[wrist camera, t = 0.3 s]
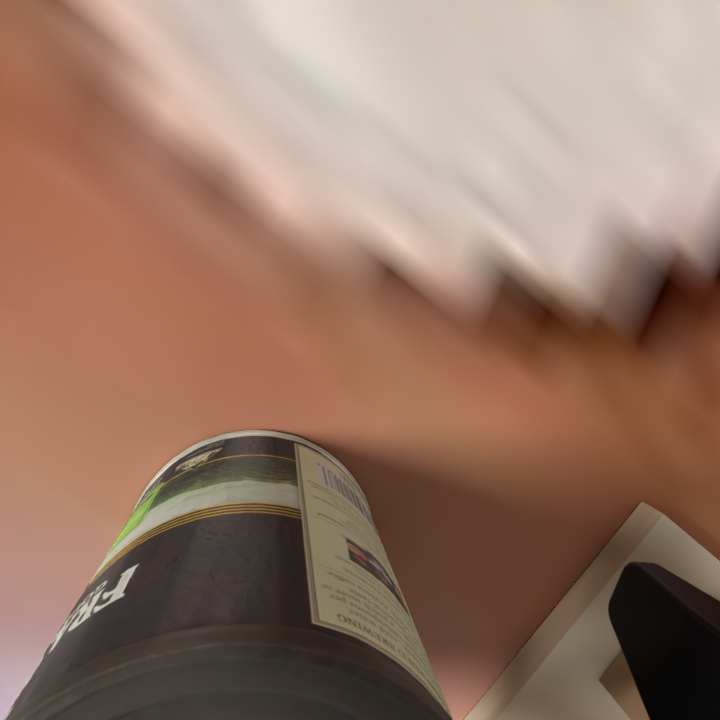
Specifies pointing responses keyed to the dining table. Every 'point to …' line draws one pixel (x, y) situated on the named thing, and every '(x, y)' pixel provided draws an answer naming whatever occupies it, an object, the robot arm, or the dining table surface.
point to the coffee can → (241, 601)
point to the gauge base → (591, 628)
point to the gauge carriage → (624, 689)
